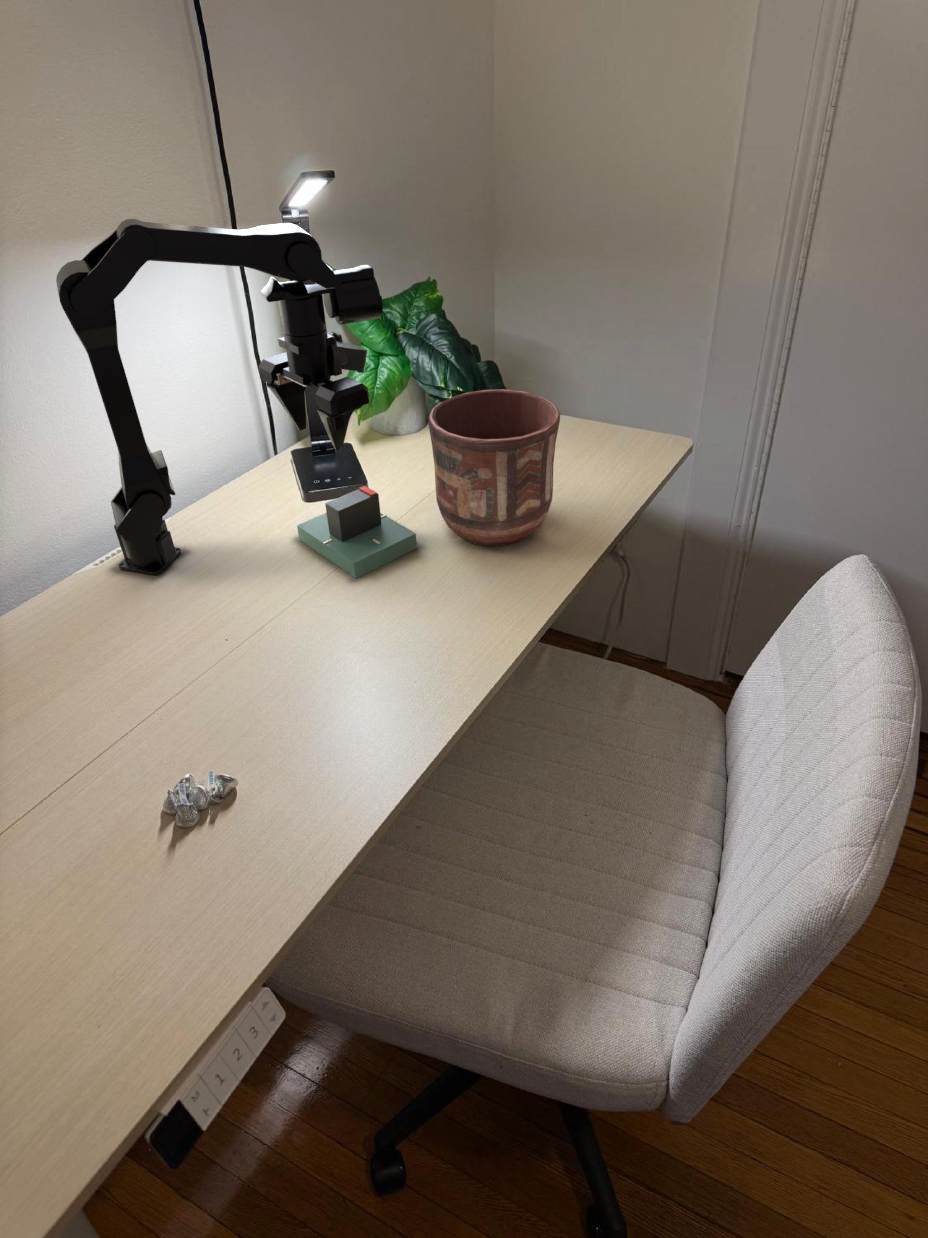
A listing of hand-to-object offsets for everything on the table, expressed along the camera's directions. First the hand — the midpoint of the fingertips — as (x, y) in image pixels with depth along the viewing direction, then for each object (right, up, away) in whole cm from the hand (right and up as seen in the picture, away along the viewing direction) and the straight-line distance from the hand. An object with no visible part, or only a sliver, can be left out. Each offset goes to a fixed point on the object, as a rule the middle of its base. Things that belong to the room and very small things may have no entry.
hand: (320, 438), depth 118 cm
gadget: (+5, -13, 0) cm, 14 cm away
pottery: (+25, -12, +5) cm, 28 cm away
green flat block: (+5, -15, +2) cm, 16 cm away
